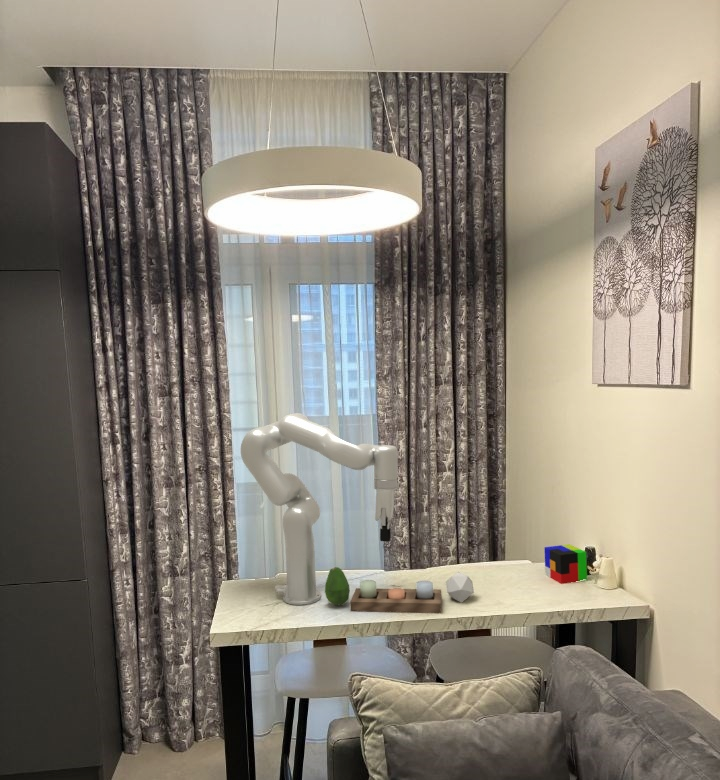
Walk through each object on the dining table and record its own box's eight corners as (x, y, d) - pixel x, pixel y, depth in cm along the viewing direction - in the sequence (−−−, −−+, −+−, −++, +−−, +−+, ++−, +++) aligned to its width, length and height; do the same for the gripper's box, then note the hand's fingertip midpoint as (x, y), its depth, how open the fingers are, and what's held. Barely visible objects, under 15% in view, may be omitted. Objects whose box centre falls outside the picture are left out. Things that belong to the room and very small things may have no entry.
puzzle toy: (545, 575, 211) (544, 547, 211) (570, 571, 213) (569, 544, 213) (561, 584, 201) (560, 555, 201) (587, 580, 204) (586, 551, 203)
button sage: (359, 597, 187) (358, 585, 187) (361, 592, 192) (361, 579, 192) (375, 598, 186) (375, 585, 186) (377, 592, 192) (377, 580, 191)
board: (350, 611, 184) (350, 601, 184) (356, 597, 196) (356, 588, 196) (441, 613, 180) (440, 603, 180) (441, 598, 192) (441, 589, 192)
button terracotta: (387, 606, 186) (387, 593, 186) (389, 600, 191) (389, 587, 191) (404, 606, 185) (403, 593, 185) (405, 600, 190) (405, 588, 190)
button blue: (416, 598, 184) (415, 586, 184) (417, 592, 190) (416, 580, 190) (433, 599, 184) (432, 586, 184) (433, 593, 189) (433, 580, 189)
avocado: (334, 598, 195) (333, 562, 195) (354, 602, 191) (353, 565, 191) (320, 607, 189) (319, 569, 188) (340, 611, 184) (339, 573, 184)
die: (480, 603, 188) (477, 572, 194) (464, 596, 183) (462, 564, 189) (457, 608, 193) (455, 577, 199) (441, 601, 188) (440, 570, 194)
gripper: (377, 479, 198) (377, 533, 198) (370, 487, 183) (370, 546, 184) (399, 480, 197) (399, 535, 197) (394, 488, 182) (394, 548, 182)
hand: (385, 540), depth 190 cm, fingers closed
